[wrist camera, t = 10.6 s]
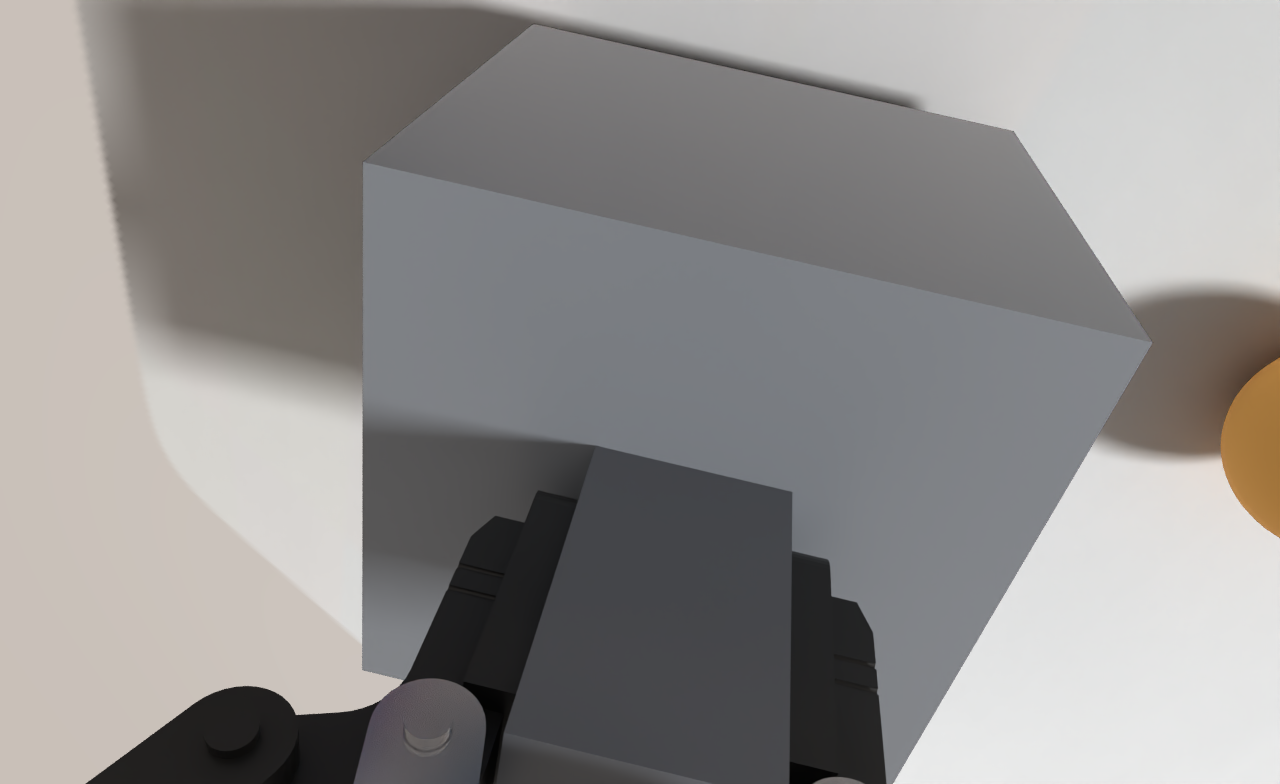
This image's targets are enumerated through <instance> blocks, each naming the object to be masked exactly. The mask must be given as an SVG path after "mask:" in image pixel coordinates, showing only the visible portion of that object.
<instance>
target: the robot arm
mask: <svg viewBox="0 0 1280 784" xmlns="http://www.w3.org/2000/svg"><path fill="white" fill-rule="evenodd" d="M577 503H578V499H573V498H569V497H565V496H561V495H556V494H552V493H548V492H544V491H540V490H538V491H537V493H536V495H535V497H534V499H533V502H532V505H531V507H530V510H529V512H528V515H527V518H526V520H525V523H524V522H520V521H516V520H512V519H507V518H503V517H499V516H494V517H493V518H492V519H491V520H489V521H488V522H487V523H486V524H485V525H483V526H482V527H481V528H480V529H479V530H477V531H476V532H475V533H474V534H473V535H472V536H471V537H470V539H469V541H468V544H467V546H466V548H465V550H464V553H463V555H462V557H461V559H460V561H459V565H458V568H456V570H455V572H454V575H453V577H452V579H451V581H450V584H449V587H448V590H446V592H445V595H444V597H443V599H442V601H441V603H440V606H439V608H438V610H437V612H436V614H435V617H434V619H433V621H432V623H431V626H430V628H429V630H428V632H427V634H426V637H425V639H424V641H423V643H422V645H421V648H420V650H419V652H418V654H417V656H416V659H415V661H414V663H413V665H412V668H411V670H410V671H409V673H408V675H407V677H406V678H405V680H404V681H403V682H402V684H401V685H400V686H399V687H397V688H396V689H394V690H392V691H391V692H390V693H389V694H387V695H386V696H385V697H384V698H383V699H382V700H380V701H379V702H377V703H375V704H373V705H370V706H367V707H365V708H362V709H358V710H354V711H348V712H340V713H324V714H307V715H295V712H294V710H293V708H292V707H291V705H290V704H289V703H288V702H287V701H286V700H285V699H284V698H283V697H282V696H280V695H279V694H277V693H275V692H273V691H271V690H268V689H264V688H260V687H252V686H243V687H233V688H228V689H224V690H221V691H218V692H215V693H213V694H210V695H208V696H206V697H204V698H202V699H201V700H199V701H198V702H196V703H195V704H193V705H192V706H191V707H189V708H188V709H187V710H185V711H184V712H182V713H181V714H180V715H178V716H177V717H176V718H174V719H173V720H172V721H170V722H169V723H167V724H166V725H165V726H163V727H162V728H161V729H159V730H158V731H157V732H155V733H154V734H152V735H151V736H150V737H148V738H147V739H146V740H144V741H143V742H142V743H140V744H139V745H138V746H136V747H135V748H134V749H132V750H131V751H130V752H128V753H127V754H126V755H124V756H123V757H121V758H120V759H119V760H117V761H116V762H115V763H113V764H112V765H110V766H109V767H108V768H107V769H105V770H104V771H102V772H101V773H100V774H98V775H97V776H96V777H94V778H93V779H92V780H90V781H89V782H87V783H86V784H496V782H497V775H498V769H499V762H500V755H501V748H502V742H503V735H504V731H505V728H506V724H507V721H508V718H509V715H510V712H511V709H512V706H513V703H514V699H515V696H516V693H517V690H518V687H519V684H520V681H521V678H522V674H523V671H524V668H525V665H526V662H527V659H528V656H529V653H530V649H531V646H532V643H533V640H534V637H535V634H536V631H537V628H538V624H539V621H540V618H541V615H542V612H543V609H544V606H545V603H546V599H547V596H548V593H549V590H550V587H551V584H552V581H553V578H554V574H555V571H556V568H557V565H558V562H559V559H560V556H561V553H562V550H563V546H564V543H565V540H566V537H567V534H568V531H569V528H570V525H571V521H572V518H573V515H574V512H575V509H576V506H577ZM875 664H876V659H875V648H874V637H873V631H872V630H871V628H870V626H869V624H868V622H867V620H866V618H865V617H864V615H863V613H862V611H861V609H860V607H859V605H858V603H857V602H853V601H849V600H845V599H841V598H837V597H832V596H831V573H830V563H829V560H828V559H824V558H820V557H816V556H811V555H807V554H803V553H799V552H795V551H792V582H791V671H790V761H789V784H887V782H886V771H885V760H884V748H883V737H882V726H881V715H880V704H879V695H877V690H878V681H877V670H876V669H875Z"/></svg>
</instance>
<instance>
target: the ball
mask: <svg viewBox="0 0 1280 784" xmlns="http://www.w3.org/2000/svg"><path fill="white" fill-rule="evenodd" d="M1221 458H1222V463H1223V468H1224V471H1225V474H1226V477H1227V479H1228V482H1229V484H1230V486H1231V489H1232V490H1233V492H1234V494H1235V496H1236V497H1237V499H1238V500H1239V502H1240V503H1241V504H1242V506H1243V507H1244V508H1245V509H1246V510H1247V511H1248V513H1249V514H1250V515H1251V516H1252V517H1253V518H1254V519H1255V520H1256V521H1257V522H1258V523H1260V524H1261V525H1262V526H1263V527H1264V528H1265V529H1267V530H1268V531H1270V532H1271V533H1273V534H1274V535H1276V536H1278V537H1279V538H1280V358H1278V359H1276V360H1275V361H1273V362H1271V363H1270V364H1268V365H1267V366H1265V367H1264V368H1262V369H1261V370H1260V371H1259V372H1258V373H1256V374H1255V375H1254V376H1253V377H1252V378H1251V379H1250V380H1249V381H1248V382H1247V383H1246V384H1245V385H1244V386H1243V388H1242V389H1241V390H1240V391H1239V393H1238V394H1237V395H1236V397H1235V399H1234V400H1233V402H1232V404H1231V406H1230V408H1229V410H1228V413H1227V415H1226V418H1225V421H1224V425H1223V429H1222V435H1221Z"/></svg>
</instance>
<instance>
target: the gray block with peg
mask: <svg viewBox="0 0 1280 784" xmlns="http://www.w3.org/2000/svg"><path fill="white" fill-rule="evenodd" d="M1152 343H1153V342H1152V341H1151V339H1150V338H1149V336H1148V335H1147V333H1146V332H1145V330H1144V329H1143V327H1142V326H1141V324H1140V323H1139V321H1138V320H1137V318H1136V316H1135V315H1134V313H1133V312H1132V310H1131V309H1130V307H1129V306H1128V304H1127V303H1126V301H1125V300H1124V298H1123V297H1122V295H1121V294H1120V292H1119V291H1118V289H1117V288H1116V286H1115V285H1114V283H1113V282H1112V280H1111V279H1110V277H1109V275H1108V274H1107V272H1106V271H1105V269H1104V268H1103V266H1102V265H1101V263H1100V262H1099V260H1098V259H1097V257H1096V256H1095V254H1094V253H1093V251H1092V250H1091V248H1090V247H1089V245H1088V244H1087V242H1086V241H1085V239H1084V238H1083V236H1082V234H1081V233H1080V231H1079V230H1078V228H1077V227H1076V225H1075V224H1074V222H1073V221H1072V219H1071V218H1070V216H1069V215H1068V213H1067V212H1066V210H1065V209H1064V207H1063V206H1062V204H1061V203H1060V201H1059V200H1058V198H1057V197H1056V195H1055V193H1054V192H1053V190H1052V189H1051V187H1050V186H1049V184H1048V183H1047V181H1046V180H1045V178H1044V177H1043V175H1042V174H1041V172H1040V171H1039V169H1038V168H1037V166H1036V165H1035V163H1034V162H1033V160H1032V159H1031V157H1030V156H1029V154H1028V152H1027V151H1026V149H1025V148H1024V146H1023V145H1022V143H1021V142H1020V140H1019V139H1018V137H1017V136H1016V134H1015V133H1014V131H1010V130H1006V129H1001V128H997V127H992V126H988V125H984V124H979V123H975V122H970V121H966V120H961V119H957V118H952V117H948V116H943V115H939V114H934V113H930V112H925V111H921V110H916V109H912V108H907V107H903V106H899V105H894V104H890V103H885V102H881V101H876V100H872V99H867V98H863V97H858V96H854V95H849V94H845V93H840V92H836V91H831V90H827V89H822V88H818V87H814V86H809V85H805V84H800V83H796V82H791V81H787V80H782V79H778V78H773V77H769V76H764V75H760V74H755V73H751V72H746V71H742V70H738V69H733V68H729V67H724V66H720V65H715V64H711V63H706V62H702V61H697V60H693V59H688V58H684V57H679V56H675V55H670V54H666V53H661V52H657V51H653V50H648V49H644V48H639V47H635V46H630V45H626V44H621V43H617V42H612V41H608V40H603V39H599V38H594V37H590V36H585V35H581V34H576V33H572V32H568V31H563V30H559V29H554V28H550V27H545V26H541V25H536V24H532V25H531V26H530V27H529V28H527V29H526V30H525V31H524V32H523V33H521V34H520V35H519V36H518V37H516V38H515V39H514V40H513V41H511V42H510V43H509V44H508V45H507V46H505V47H504V48H503V49H502V50H500V51H499V52H498V53H497V54H495V55H494V56H493V57H492V58H491V59H489V60H488V61H487V62H486V63H484V64H483V65H482V66H481V67H479V68H478V69H477V70H476V71H474V72H473V73H472V74H471V75H470V76H468V77H467V78H466V79H465V80H463V81H462V82H461V83H460V84H458V85H457V86H456V87H455V88H454V89H452V90H451V91H450V92H449V93H447V94H446V95H445V96H444V97H442V98H441V99H440V100H439V101H437V102H436V103H435V104H434V105H433V106H431V107H430V108H429V109H428V110H426V111H425V112H424V113H423V114H421V115H420V116H419V117H418V118H417V119H415V120H414V121H413V122H412V123H410V124H409V125H408V126H407V127H405V128H404V129H403V130H402V131H401V132H399V133H398V134H397V135H396V136H394V137H393V138H392V139H391V140H389V141H388V142H387V143H386V144H384V145H383V146H382V147H381V148H380V149H378V150H377V151H376V152H375V153H373V154H372V155H371V156H370V157H368V158H367V159H366V160H365V161H364V162H363V575H362V647H363V648H362V652H363V653H362V670H364V671H368V672H373V673H377V674H381V675H385V676H389V677H393V678H397V679H401V680H405V678H406V677H407V675H408V673H409V671H410V670H411V668H412V665H413V663H414V661H415V659H416V656H417V654H418V652H419V650H420V648H421V645H422V643H423V641H424V639H425V637H426V634H427V632H428V630H429V628H430V626H431V623H432V621H433V619H434V617H435V614H436V612H437V610H438V608H439V606H440V603H441V601H442V599H443V597H444V595H445V592H446V590H448V587H449V584H450V581H451V579H452V577H453V575H454V572H455V570H456V568H458V565H459V561H460V559H461V557H462V555H463V553H464V550H465V548H466V546H467V544H468V541H469V539H470V537H471V536H472V535H473V534H474V533H475V532H476V531H477V530H479V529H480V528H481V527H482V526H483V525H485V524H486V523H487V522H488V521H489V520H491V519H492V518H493V517H494V516H499V517H503V518H507V519H512V520H516V521H520V522H524V523H525V520H526V518H527V515H528V512H529V510H530V507H531V505H532V502H533V499H534V497H535V495H536V493H537V491H538V490H540V491H544V492H548V493H552V494H556V495H561V496H565V497H569V498H573V499H578V503H577V506H576V509H575V512H574V515H573V518H572V521H571V525H570V528H569V531H568V534H567V537H566V540H565V543H564V546H563V550H562V553H561V556H560V559H559V562H558V565H557V568H556V571H555V574H554V578H553V581H552V584H551V587H550V590H549V593H548V596H547V599H546V603H545V606H544V609H543V612H542V615H541V618H540V621H539V624H538V628H537V631H536V634H535V637H534V640H533V643H532V646H531V649H530V653H529V656H528V659H527V662H526V665H525V668H524V671H523V674H522V678H521V681H520V684H519V687H518V690H517V693H516V696H515V699H514V703H513V706H512V709H511V712H510V715H509V718H508V721H507V724H506V728H505V731H504V735H503V742H502V748H501V755H500V762H499V769H498V775H497V782H496V784H789V761H790V671H791V582H792V551H795V552H799V553H803V554H807V555H811V556H816V557H820V558H824V559H828V560H829V563H830V573H831V596H832V597H837V598H841V599H845V600H849V601H853V602H857V603H858V605H859V607H860V609H861V611H862V613H863V615H864V617H865V618H866V620H867V622H868V624H869V626H870V628H871V630H872V631H873V637H874V648H875V659H876V664H875V669H876V670H877V681H878V690H877V695H879V704H880V715H881V726H882V737H883V748H884V760H885V771H886V782H887V784H893V782H894V781H895V779H896V777H897V776H898V774H899V772H900V771H901V769H902V767H903V766H904V764H905V762H906V760H907V759H908V757H909V755H910V754H911V752H912V750H913V749H914V747H915V745H916V743H917V742H918V740H919V738H920V737H921V735H922V733H923V732H924V730H925V728H926V727H927V725H928V723H929V721H930V720H931V718H932V716H933V715H934V713H935V711H936V710H937V708H938V706H939V704H940V703H941V701H942V699H943V698H944V696H945V694H946V693H947V691H948V689H949V687H950V686H951V684H952V682H953V681H954V679H955V677H956V676H957V674H958V672H959V671H960V669H961V667H962V665H963V664H964V662H965V660H966V659H967V657H968V655H969V654H970V652H971V650H972V648H973V647H974V645H975V643H976V642H977V640H978V638H979V637H980V635H981V633H982V631H983V630H984V628H985V626H986V625H987V623H988V621H989V620H990V618H991V616H992V615H993V613H994V611H995V609H996V608H997V606H998V604H999V603H1000V601H1001V599H1002V598H1003V596H1004V594H1005V592H1006V591H1007V589H1008V587H1009V586H1010V584H1011V582H1012V581H1013V579H1014V577H1015V576H1016V574H1017V572H1018V570H1019V569H1020V567H1021V565H1022V564H1023V562H1024V560H1025V559H1026V557H1027V555H1028V553H1029V552H1030V550H1031V548H1032V547H1033V545H1034V543H1035V542H1036V540H1037V538H1038V536H1039V535H1040V533H1041V531H1042V530H1043V528H1044V526H1045V525H1046V523H1047V521H1048V520H1049V518H1050V516H1051V514H1052V513H1053V511H1054V509H1055V508H1056V506H1057V504H1058V503H1059V501H1060V499H1061V497H1062V496H1063V494H1064V492H1065V491H1066V489H1067V487H1068V486H1069V484H1070V482H1071V481H1072V479H1073V477H1074V475H1075V474H1076V472H1077V470H1078V469H1079V467H1080V465H1081V464H1082V462H1083V460H1084V458H1085V457H1086V455H1087V453H1088V452H1089V450H1090V448H1091V447H1092V445H1093V443H1094V441H1095V440H1096V438H1097V436H1098V435H1099V433H1100V431H1101V430H1102V428H1103V426H1104V425H1105V423H1106V421H1107V419H1108V418H1109V416H1110V414H1111V413H1112V411H1113V409H1114V408H1115V406H1116V404H1117V402H1118V401H1119V399H1120V397H1121V396H1122V394H1123V392H1124V391H1125V389H1126V387H1127V385H1128V384H1129V382H1130V380H1131V379H1132V377H1133V375H1134V374H1135V372H1136V370H1137V369H1138V367H1139V365H1140V363H1141V362H1142V360H1143V358H1144V357H1145V355H1146V353H1147V352H1148V350H1149V348H1150V346H1151V345H1152Z"/></svg>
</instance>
